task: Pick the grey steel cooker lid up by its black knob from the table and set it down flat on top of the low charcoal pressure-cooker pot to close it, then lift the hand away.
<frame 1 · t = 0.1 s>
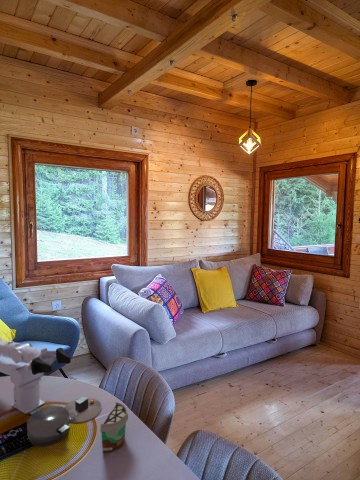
hand: (60, 364, 109), 22 cm above the table, tool horizontal, fingers open, 7 cm apart
cooker pot: (48, 432, 107), on the table
cooker lid: (82, 411, 118), on the table
food container: (118, 443, 102), on the table
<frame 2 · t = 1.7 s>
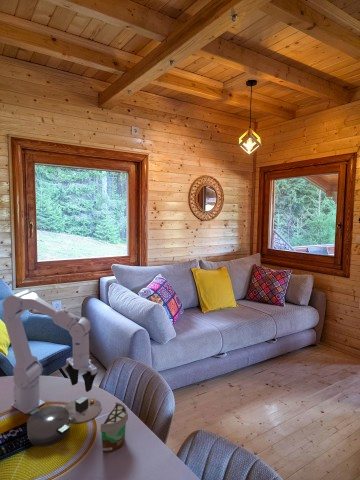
hand: (81, 387, 117), 9 cm above the table, tool pointing down, fingers open, 7 cm apart
nothing on the table moved.
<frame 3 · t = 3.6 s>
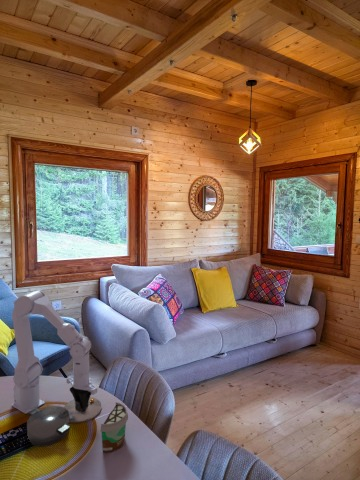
hand: (81, 406, 118), 2 cm above the table, tool pointing down, fingers closed on cooker lid, 2 cm apart
cooker lid: (81, 410, 118), on the table, touching gripper
everything else where it was.
when the fingers open (7 cm above the table, at t = 6.5 s): cooker lid stays where it is, resting on cooker pot.
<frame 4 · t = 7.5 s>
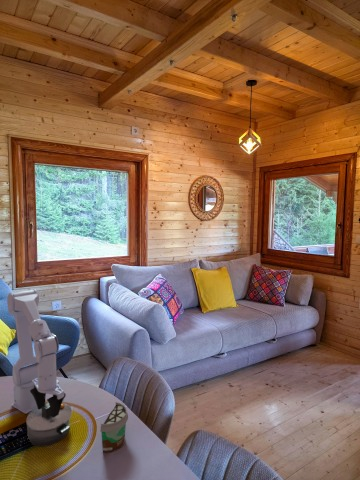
hand: (48, 411, 106), 7 cm above the table, tool pointing down, fingers open, 7 cm apart
cooker lid: (49, 417, 106), point 5 cm above the table, touching cooker pot
everything else where it was.
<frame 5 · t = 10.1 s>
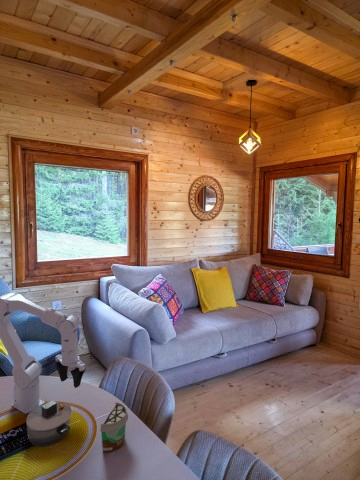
hand: (70, 383, 119), 9 cm above the table, tool pointing down, fingers open, 7 cm apart
nothing on the table moved.
at the end: cooker lid 0.4 cm from the cooker pot (horizontally); cooker lid point 5.0 cm above the table; cooker lid tilted 0° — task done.
